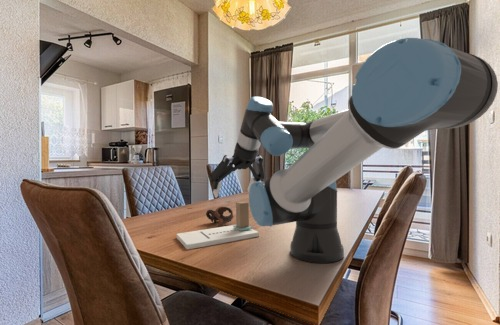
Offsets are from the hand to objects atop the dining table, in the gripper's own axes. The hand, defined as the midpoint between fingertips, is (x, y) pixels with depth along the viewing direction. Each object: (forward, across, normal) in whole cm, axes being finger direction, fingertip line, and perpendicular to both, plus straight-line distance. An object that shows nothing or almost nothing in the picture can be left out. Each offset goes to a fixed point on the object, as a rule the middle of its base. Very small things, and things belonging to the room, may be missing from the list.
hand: (232, 193), depth 96 cm
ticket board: (+13, +6, +8) cm, 16 cm away
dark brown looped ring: (+24, -2, -6) cm, 25 cm away
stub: (+12, -4, +7) cm, 14 cm away
